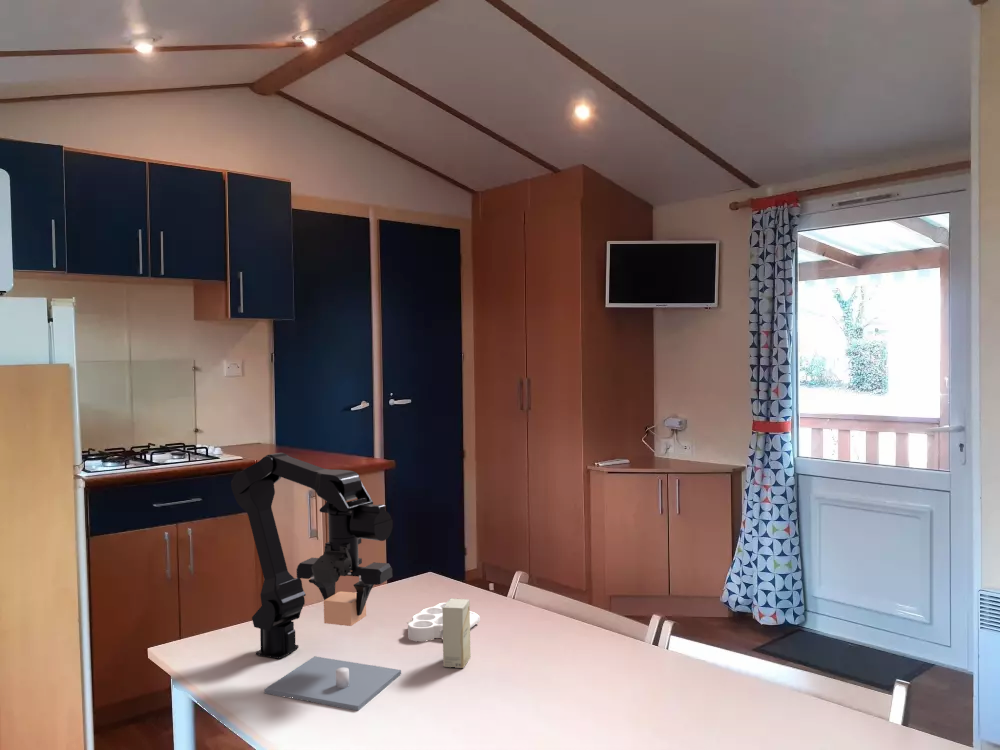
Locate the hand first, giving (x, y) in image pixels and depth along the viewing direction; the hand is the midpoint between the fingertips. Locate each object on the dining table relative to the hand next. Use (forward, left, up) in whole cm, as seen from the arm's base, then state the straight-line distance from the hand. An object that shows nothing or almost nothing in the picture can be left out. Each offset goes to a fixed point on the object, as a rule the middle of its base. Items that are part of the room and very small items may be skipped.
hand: (345, 613), depth 148 cm
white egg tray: (+8, +27, -12) cm, 31 cm away
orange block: (0, 0, -1) cm, 1 cm away
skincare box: (+19, +11, -12) cm, 25 cm away
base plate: (+1, -6, -11) cm, 13 cm away
